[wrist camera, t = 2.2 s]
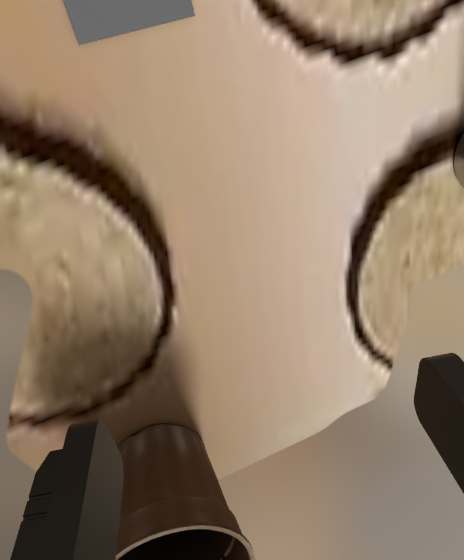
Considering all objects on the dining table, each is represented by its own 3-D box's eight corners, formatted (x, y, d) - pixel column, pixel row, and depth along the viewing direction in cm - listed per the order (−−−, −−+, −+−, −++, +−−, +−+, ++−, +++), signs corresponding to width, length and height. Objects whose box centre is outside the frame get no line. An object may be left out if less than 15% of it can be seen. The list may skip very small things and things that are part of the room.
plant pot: (231, 408, 54) (271, 520, 40) (210, 497, 60) (239, 623, 46) (101, 409, 50) (94, 538, 35) (92, 507, 55) (83, 651, 41)
